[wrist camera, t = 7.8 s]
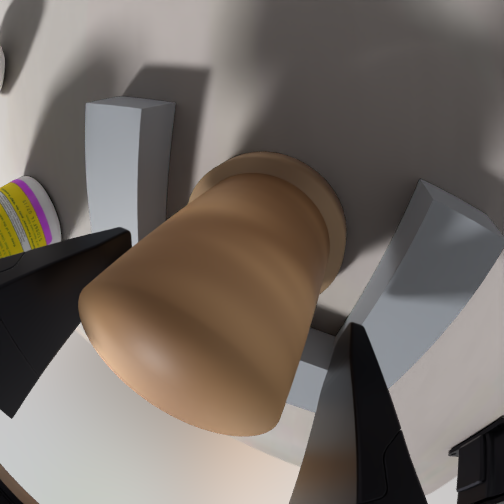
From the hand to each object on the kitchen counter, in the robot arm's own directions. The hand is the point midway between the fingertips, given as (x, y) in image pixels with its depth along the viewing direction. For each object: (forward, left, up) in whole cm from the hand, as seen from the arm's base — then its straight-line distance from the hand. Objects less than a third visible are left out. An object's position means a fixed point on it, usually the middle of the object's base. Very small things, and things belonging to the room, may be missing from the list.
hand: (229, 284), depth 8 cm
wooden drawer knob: (0, 0, -4) cm, 4 cm away
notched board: (0, +2, -4) cm, 4 cm away
